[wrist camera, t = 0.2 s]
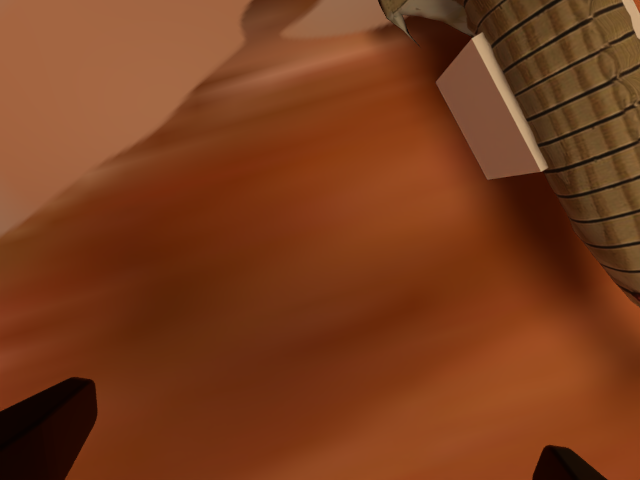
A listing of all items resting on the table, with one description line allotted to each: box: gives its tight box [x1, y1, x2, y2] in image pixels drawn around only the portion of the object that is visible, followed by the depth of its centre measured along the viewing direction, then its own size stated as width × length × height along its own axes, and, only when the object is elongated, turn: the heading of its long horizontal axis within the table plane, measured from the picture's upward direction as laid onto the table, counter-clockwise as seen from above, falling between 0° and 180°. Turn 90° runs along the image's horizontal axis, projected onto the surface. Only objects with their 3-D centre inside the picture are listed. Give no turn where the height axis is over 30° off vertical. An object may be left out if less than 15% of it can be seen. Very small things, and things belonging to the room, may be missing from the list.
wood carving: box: [378, 0, 640, 307], centre depth 17 cm, size 9×35×11 cm, turn 29°
